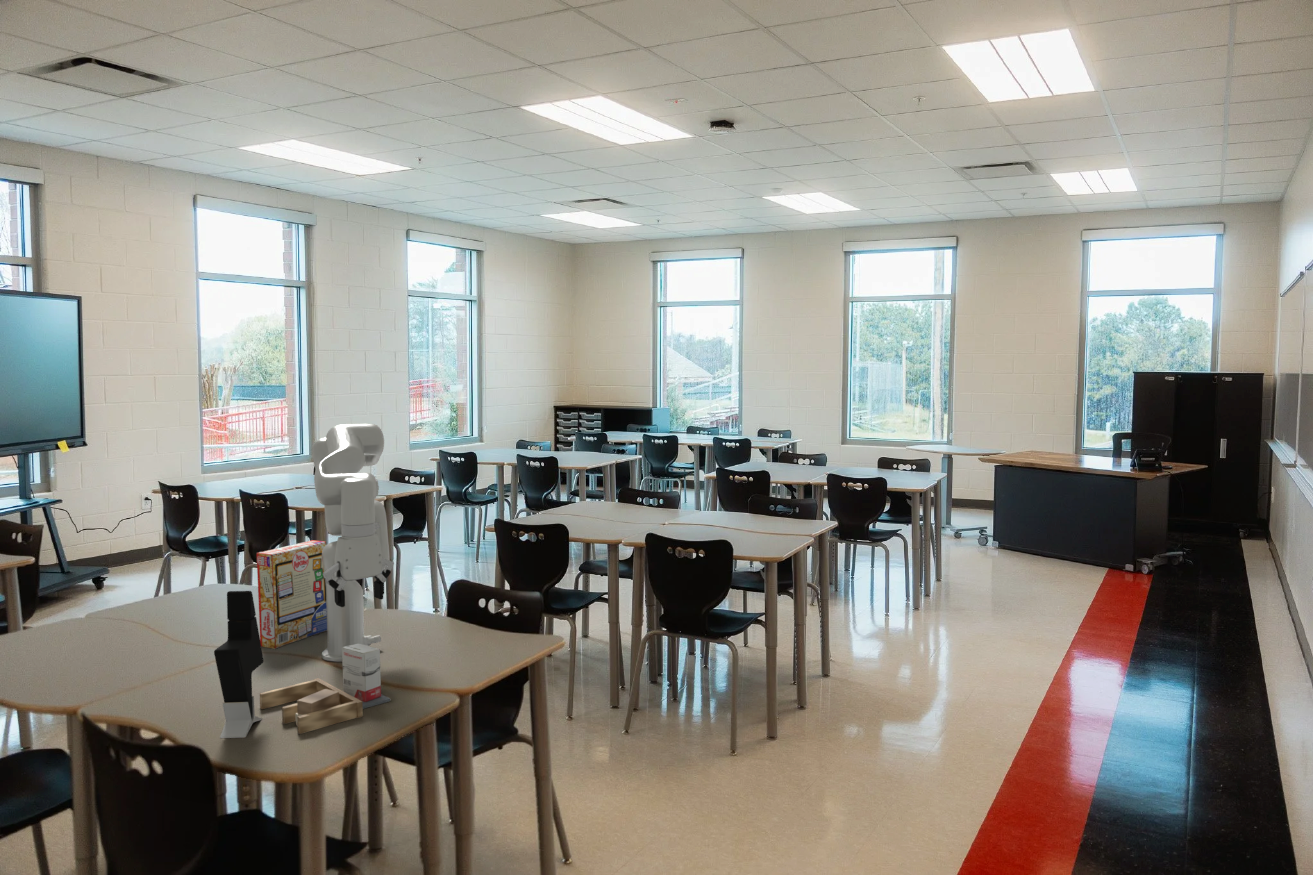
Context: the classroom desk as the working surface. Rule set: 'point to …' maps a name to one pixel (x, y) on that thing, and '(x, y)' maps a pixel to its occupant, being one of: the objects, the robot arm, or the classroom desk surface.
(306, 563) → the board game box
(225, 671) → the award
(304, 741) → the classroom desk surface
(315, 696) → the offcut
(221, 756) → the classroom desk surface
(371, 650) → the ink box
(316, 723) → the rack
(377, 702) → the mat
